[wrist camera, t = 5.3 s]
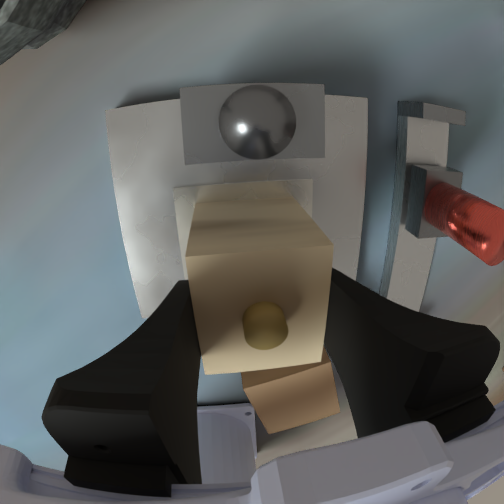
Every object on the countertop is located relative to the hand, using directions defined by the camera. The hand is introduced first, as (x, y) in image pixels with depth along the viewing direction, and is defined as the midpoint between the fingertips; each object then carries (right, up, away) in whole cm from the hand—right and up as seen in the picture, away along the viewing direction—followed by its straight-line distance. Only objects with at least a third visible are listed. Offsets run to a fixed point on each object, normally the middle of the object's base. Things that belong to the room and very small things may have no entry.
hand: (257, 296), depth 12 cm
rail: (+9, +3, +6) cm, 11 cm away
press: (-1, +4, +4) cm, 6 cm away
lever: (+9, +5, +3) cm, 11 cm away
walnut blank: (+2, -4, +8) cm, 9 cm away
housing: (0, +2, +3) cm, 4 cm away
